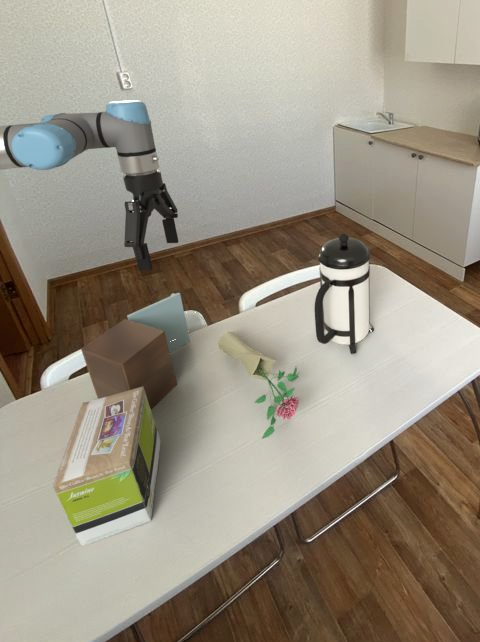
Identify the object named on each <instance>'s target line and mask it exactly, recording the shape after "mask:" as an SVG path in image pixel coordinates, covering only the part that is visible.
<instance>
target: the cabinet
mask: <svg viewBox="0 0 480 642" xmlns="http://www.w3.org/2000/svg"><path fill="white" fill-rule="evenodd" d="M80 351H81V352H82V356H83V359H84V361H85V365H86V368H87V371H88V374H89V377H90V380H91V383H92V385H93V388H94V392H95V395H96V397H97V398H96V399H100V398H104V397H107V396H111V395H114V394H118V393H122V392H125V391H129V390H132V389H136V388H139V387H144V390H145V393H146V396H147V400H148V403H149V406H150V409H151V410H152V409H154V407H155V406H157V404H159V403H160V401H162V400H163V399H164V398H165V397H166V396H167V395H168V394H169V393H170V392H171V391H172V390H173V389H174V388H175V387H176V386H177V385H178V382H177V378H176V373H175V370H174V365H173V361H172V360H173V359H172V356H171V352H169V348H168V343H167V339H166V335H165V331H162V330H159V329H156V328H153V327H149V326H146V325H143V324H140V323H136V322H133V321H130V320H128V318H123V319H122V320H121V321H120V322H117V323H116V324H114V325H113V326H112V327H111V328H108V330H106V331H104V332H103V333H102V334H100V335H99V336H97V337H96V338H94V339H93V340H91V341H90V342H88V343H86V344H85V345H83V346H82V347H81V348H80Z"/></svg>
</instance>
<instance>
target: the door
mask: <svg viewBox="0 0 480 642" xmlns="http://www.w3.org/2000/svg"><path fill="white" fill-rule="evenodd" d="M126 317H127V318H126V319H127V320H130V321H133V322H136V323H140V324H143V325H146V326H149V327H153V328H156V329H159V330H162V331H165V335H166V339H167V343H168V348H169V352H170V353H172V352H173V351H176V350H177V349H179V348H181V347H182V346H185V345H186V344H189V343H190V342H191V339H190V334H189V329H188V325H187V324H188V323H187V321H186V320H187V318H186V315H185V310H184V305H183V301H182V296H181V293H180V292H176V293H171V294H170V296H168V297H165V298H163V299H161V300H159V301H155V303H152V304H149V305H147V306H146V307H143V308H140V309H138V310H136V311H134V312H132V313H129V314H127V315H126ZM174 339H176V340H174ZM172 340H174V341H172ZM170 341H171V342H170Z"/></svg>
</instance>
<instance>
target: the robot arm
mask: <svg viewBox="0 0 480 642" xmlns="http://www.w3.org/2000/svg"><path fill="white" fill-rule="evenodd" d="M153 133H154V132H153V128H152V120H151V119H150V115H149V112H148V108H147V105H146V104H145V102H143V101H141V100H137V99H133V100H132V99H131V100H128V99H127V100H113V101H109V102H107V103H105V111H99V112H76V113H73V112H72V113H66V112H60V113H55V114H47V115H44V116H43V117H42V118H41V119H40V121H39V122H33V123H31V122H30V123H19V124H5V125H0V171H1V170H8V169H9V170H10V169H19V168H21V169H22V168H30V169H33V170H38V171H48V170H52V169H56V168H59V167H62V166H64V165H66V164H68V163H69V162H70V161H71V160H72V159H74V158H76V157H77V156H79V155H81V154H82V153H84V152H86V151H88V150H94V149H111V148H115V150H116V155H117V158H118V162H119V167H120V171H121V173H122V174H123V176H122V178H123V179H122V180H123V183H124V187H125V190H126V191H127V192H129V193H131V194H132V200H126V201H125V202H124V210H125V223H124V240H123V241H124V242H123V246H124V247H125V248H132V250H133V253H134V258H135V260H136V264H137V268H138V271H140V272H141V271H142V272H143V271H152V270H153V263H152V260H151V256H150V251H149V247H148V243H147V242H145V240H146V233H147V227H148V222H149V221H148V220H149V218H150V217H151V216H152V213H153V211H154V210H155V211H156V212H157V213H158V214H159V215H160V216H161V217H162V218H163V219H161V222H162V225H163V226H162V227H163V231H164V237H165V241H166V244H178V243H179V242H180V241H179V236H178V232H177V226H176V222H175V221H176V220H175V219H178V217H179V214H178V208H177V206H176V203H175V202H174V201H173V199H172V197H171V195H170V192H169V191H168V188H167V185H166V183H164V181H163V177H162V171H161V170H160V169H159V168H160V164H159V159H160V158H159V157H158V154H157V148H156V144H155V139H154V134H153Z"/></svg>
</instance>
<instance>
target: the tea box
mask: <svg viewBox="0 0 480 642" xmlns="http://www.w3.org/2000/svg"><path fill="white" fill-rule="evenodd" d="M161 443H162V442H161V437H160V434H159V431H158V428H157V425H156V422H155V419H154V415H153V412H152V409H150V406H149V403H148V400H147V396H146V393H145V390H144V387H139V388H136V389H132V390H129V391H125V392H122V393H118V394H114V395H111V396H107V397H104V398H100V399H98V398H96V399H93V400H89V401H86V402H85V401H84V402H82V404H81V407H80V409H79V412H78V413H77V417H76V420H75V423H74V425H73V428H72V431H71V434H70V437H69V440H68V443H67V445H66V448H65V450H64V453H63V457H62V459H61V461H60V464H59V468H58V470H57V474H56V476H55V480H54V482H53V485H52V488H53V490H54V493H55V495H56V496H57V499H58V501H59V503H60V505H61V506H62V509H63V511H64V513H65V515H66V517H67V519H68V521H69V524H70V526H71V527H72V530H73V531H74V534H75V536H76V538H77V540H78V542H79V544H80V546H81V547H84V546H87V545H90V544H93V543H95V542H98V541H101V540H104V539H106V538H110V537H112V536H116V535H117V534H120V533H123V532H126V531H128V530H131V529H134V528H136V527H139V526H141V525H144V524H147V523H149V522H151V521H152V516H153V507H154V499H155V492H156V484H157V475H158V468H159V460H160V451H161Z"/></svg>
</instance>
